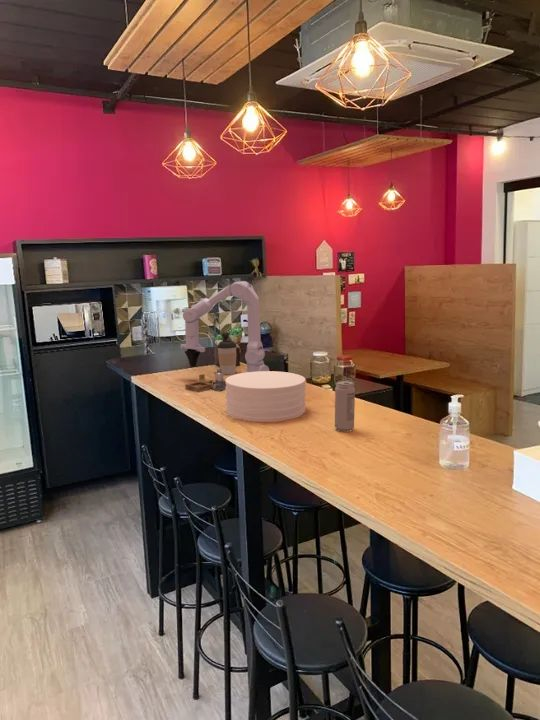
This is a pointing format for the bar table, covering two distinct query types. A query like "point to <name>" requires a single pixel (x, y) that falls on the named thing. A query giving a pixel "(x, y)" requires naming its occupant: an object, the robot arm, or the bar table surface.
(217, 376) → the peg
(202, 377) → the golden l-shaped block
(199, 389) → the square wooden tray
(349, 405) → the energy drink can
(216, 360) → the potted plant
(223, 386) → the socket collar
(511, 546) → the bar table surface
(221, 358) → the coffee cup
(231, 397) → the plate stack
